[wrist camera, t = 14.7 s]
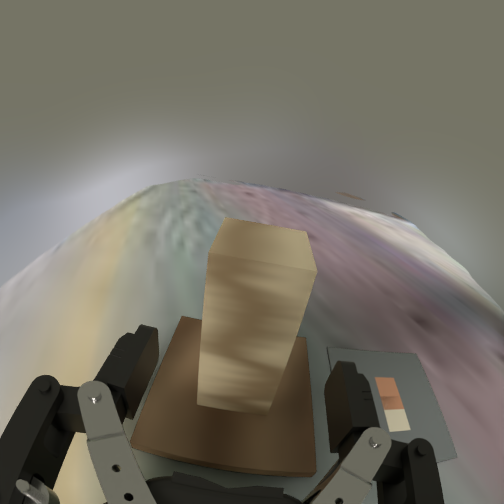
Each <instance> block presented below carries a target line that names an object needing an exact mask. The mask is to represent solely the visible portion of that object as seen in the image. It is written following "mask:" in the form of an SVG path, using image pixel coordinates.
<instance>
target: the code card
mask: <svg viewBox="0 0 504 504" xmlns="http://www.w3.org/2000/svg"><path fill="white" fill-rule="evenodd" d="M327 351H328V356H329V362H330V368H331V372H332V370H333V368H334V366H335V364H336V362H337V361H350V362H354V363H355V364H356V368H357V372H358V373H361V374H364V376H365V377H366V379H367V380H368V381H369V384H370V388H371V393H372V395H373V401H374V403H375V407H376V411H377V415H378V420H379V424H380V428H381V429H383V430H385V431H386V432H387V433H388V434H389V436H390V438H391V439H392V440H396V441H400V442H404V443H410V442H411V441H412V440H413V439H415V438H423V439H426V440H427V441H429V442H430V443H431V445H432V447H433V449H434V454H435V458H436V462H437V463H438V462H442V461H446V460H450V459H453V458H457V453H456V450H455V447H454V445H453V442H452V439H451V436H450V433H449V431H448V428H447V425H446V422H445V420H444V417H443V415H442V412H441V410H440V407H439V405H438V402H437V400H436V397H435V395H434V392H433V390H432V388H431V385H430V383H429V381H428V379H427V376H426V374H425V372H424V370H423V367H422V365H421V363H420V361H419V359H418V357H417V354H413V353H393V352H378V351H365V350H353V349H343V348H333V347H327Z"/></svg>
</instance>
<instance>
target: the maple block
mask: <svg viewBox="0 0 504 504" xmlns="http://www.w3.org/2000/svg"><path fill="white" fill-rule="evenodd" d="M316 274H317V268H316V265H315V261H314V257H313V254H312V250H311V247H310V243H309V240H308V236H307V233H306V232H304V231H299V230H294V229H288V228H283V227H277V226H272V225H266V224H261V223H255V222H249V221H244V220H238V219H232V218H226V217H225V219H224V221H223V223H222V225H221V227H220V229H219V231H218V234H217V236H216V238H215V240H214V242H213V244H212V246H211V248H210V250H209V254H208V263H207V273H206V283H205V294H204V305H203V317H202V330H201V343H200V358H199V374H198V392H197V405H202V406H207V407H213V408H218V409H224V410H230V411H236V412H242V413H249V414H257V415H265V416H267V414H268V412H269V409H270V407H271V404H272V402H273V399H274V397H275V394H276V391H277V389H278V386H279V384H280V381H281V378H282V375H283V373H284V370H285V367H286V365H287V362H288V359H289V356H290V353H291V351H292V348H293V345H294V342H295V339H296V336H297V333H298V330H299V327H300V324H301V321H302V318H303V315H304V312H305V309H306V306H307V303H308V300H309V297H310V293H311V290H312V287H313V284H314V280H315V277H316Z"/></svg>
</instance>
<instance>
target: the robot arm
mask: <svg viewBox="0 0 504 504" xmlns="http://www.w3.org/2000/svg"><path fill="white" fill-rule="evenodd" d="M158 357H159V343H158V329H157V328H154V327H150V326H146V325H142V324H141V325H140V326H139V327H138V329H137V331H136V332H135V334H132V333H126V334H125V335H124V336H122V337H121V338H119V340H118V341H117V343H116V345H115V346H114V348H113V349H112V351H111V353H110V355H109V356H108V357H107V359H106V361H105V362H104V364H103V366H102V367H101V369H100V371H99V372H98V374H97V376H96V377H95V379H94V380H93V381H89V382H86V383H84V384H83V385H82V386H81V387H72V386H63V385H60V384H59V382H58V381H57V380H56V379H55V378H54V377H52V376H50V375H42V376H39V377H37V378H36V379H35V380H34V381H33V382H32V383H31V385H30V387H29V388H28V390H27V392H26V393H25V395H24V396H23V398H22V400H21V402H20V403H19V405H18V407H17V408H16V410H15V412H14V414H13V415H12V417H11V419H10V421H9V423H8V425H7V426H6V428H5V430H4V432H3V434H2V436H1V438H0V504H60V501H59V498H58V496H57V495H56V493H55V492H54V491H53V488H54V485H55V482H56V480H57V477H58V474H59V472H60V469H61V466H62V464H63V461H64V459H65V456H66V454H67V451H68V449H69V446H70V444H71V442H72V439H73V437H74V434H75V432H80V433H86V434H87V438H88V440H87V446H88V450H89V453H90V456H91V459H92V462H93V465H94V468H95V471H96V474H97V477H98V480H99V482H100V485H101V487H102V490H103V493H104V495H105V498H106V500H107V502H106V503H104V504H361V503H362V501H363V500H364V498H365V497H366V495H367V494H368V492H369V491H370V489H371V487H372V484H371V481H372V480H374V481H377V495H378V504H444V499H443V493H442V487H441V482H440V477H439V472H438V467H437V462H436V458H435V454H434V449H433V447H432V445H431V443H430V442H429V441H427V440H426V439H423V438H415V439H413V440H412V441H411V442H410V443H404V442H400V441H396V440H392V439H391V438H390V436H389V434H388V433H387V432H386V431H385V430H383V429H381V428H380V424H379V420H378V415H377V411H376V407H375V403H374V401H373V395H372V393H371V388H370V384H369V381H368V380H367V379H366V377H365V376H364V374H361V373H358V372H357V368H356V364H355V363H354V362H350V361H337V362H336V364H335V366H334V368H333V370H332V372H331V374H330V376H329V378H328V380H327V382H326V384H325V390H324V395H325V404H326V413H327V423H328V433H329V443H330V453H339V459H338V460H337V461H336V463H335V464H334V465H333V466H332V468H331V469H330V470H329V472H328V473H327V474H326V475H325V476H324V478H323V479H322V480H321V481H320V483H319V484H318V485H317V486H316V487H315V488H314V489H313V490H312V491H311V492H310V493H309V494H308V495H307V496H306V497H305V498H304V499H303V500H302V502H301V501H299V500H298V499H296V498H294V497H292V496H289V495H287V494H283V489H284V488H276V487H263V486H252V487H242V488H225V487H223V486H220V485H218V484H215V483H213V482H210V481H208V480H205V479H203V478H201V477H196V476H191V475H187V474H183V473H179V472H175V471H174V473H173V476H166V477H157V478H153V479H149V480H147V481H145V479H144V477H143V474H142V472H141V470H140V468H139V466H138V464H137V461H136V459H135V457H134V454H133V452H132V450H131V447H130V445H129V442H128V440H127V437H126V434H125V432H124V429H123V426H122V424H123V422H124V419H125V417H126V418H129V419H132V420H133V418H134V416H135V413H136V411H137V409H138V406H139V404H140V402H141V399H142V397H143V395H144V392H145V390H146V388H147V385H148V383H149V381H150V378H151V376H152V374H153V372H154V369H155V367H156V365H157V362H158Z"/></svg>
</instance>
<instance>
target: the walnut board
mask: <svg viewBox="0 0 504 504" xmlns="http://www.w3.org/2000/svg"><path fill="white" fill-rule="evenodd" d="M201 330H202V320H199V319H194V318H189V317H184V316H182V317H181V319H180V321H179V324H178V326H177V328H176V330H175V333H174V335H173V337H172V340H171V342H170V344H169V347H168V349H167V351H166V354H165V356H164V358H163V361H162V363H161V365H160V368H159V370H158V373H157V375H156V377H155V380H154V382H153V385H152V387H151V389H150V392H149V394H148V397H147V399H146V402H145V404H144V407H143V409H142V412H141V414H140V417H139V419H138V422H137V424H136V427H135V430H134V432H133V435H132V437H131V440H130V443H131V446H132V448H135V449H138V450H141V451H145V452H148V453H151V454H155V455H158V456H162V457H166V458H169V459H173V460H177V461H181V462H186V463H190V464H195V465H200V466H205V467H210V468H215V469H221V470H228V471H235V472H242V473H250V474H260V475H272V476H289V477H312V476H313V475H314V474H315V473H316V453H315V437H314V422H313V409H312V397H311V385H310V374H309V363H308V353H307V344H306V338H304V337H297V336H296V339H295V342H294V345H293V348H292V351H291V353H290V356H289V359H288V362H287V365H286V367H285V370H284V373H283V375H282V378H281V381H280V384H279V386H278V389H277V391H276V394H275V397H274V399H273V402H272V404H271V407H270V409H269V412H268V414H267V416H265V415H257V414H249V413H242V412H236V411H230V410H224V409H218V408H213V407H207V406H202V405H197V392H198V374H199V358H200V343H201Z"/></svg>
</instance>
